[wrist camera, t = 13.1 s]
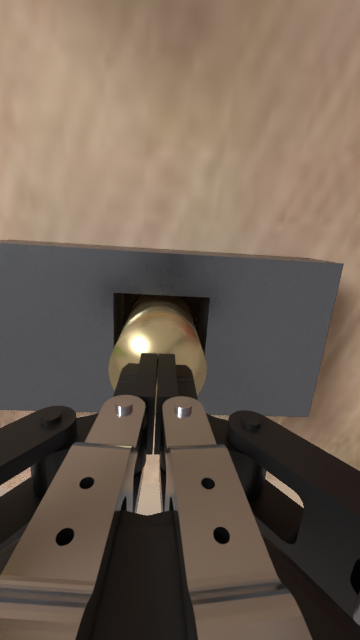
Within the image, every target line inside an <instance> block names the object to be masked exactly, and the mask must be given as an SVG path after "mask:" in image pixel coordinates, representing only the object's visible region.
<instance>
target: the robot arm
mask: <svg viewBox="0 0 360 640" xmlns="http://www.w3.org/2000/svg"><path fill="white" fill-rule="evenodd" d="M156 377H157V353H141V357H140V362H139V363H128V364H127V365H126V366H125V367H123V368H122V370H121V373H120V377H119V380H118V383H117V386H116V389H115V392H114V395H113V397H112V398H110V399H108V400H107V401H106V402H105V403H104V404H103V406H102V408H101V410H100V412H99V413H97V414H94V415H90V416H85V417H80V418H76V413H75V411H74V410H73V409H72V408H70V407H67V406H50V407H46V408H43V409H40V410H38V411H36V412H34V413H32V414H29V415H27V416H25V417H23V418H21V419H19V420H17V421H15V422H13V423H10V424H8V425H6V426H4V427H2V428H0V485H2V484H3V483H5V482H6V481H8V480H10V479H11V478H13V477H14V476H16V475H18V474H19V473H21V472H22V471H24V470H26V469H27V468H29V467H31V476H32V477H30V478H29V479H27V480H26V481H24V482H22V483H21V484H19V485H18V486H16V487H15V488H13V489H12V490H10V491H9V492H7V493H6V494H4V495H3V496H1V497H0V640H360V471H358V470H357V469H355V468H353V467H351V466H350V465H348V464H346V463H344V462H343V461H341V460H339V459H338V458H336V457H334V456H332V455H331V454H329V453H327V452H325V451H324V450H322V449H320V448H319V447H317V446H315V445H313V444H312V443H310V442H308V441H306V440H305V439H303V438H301V437H300V436H298V435H296V434H294V433H293V432H291V431H289V430H287V429H286V428H284V427H282V426H281V425H279V424H277V423H275V422H274V421H272V420H270V419H268V418H267V417H265V416H263V415H261V414H259V413H257V412H253V411H247V410H241V411H236V412H234V413H232V414H231V415H230V417H229V420H228V421H227V420H223V419H219V418H215V417H213V416H210V415H208V414H207V413H205V410H204V407H203V405H202V404H201V403H200V402H199V401H198V398H197V393H196V388H195V384H194V378H193V373H192V370H191V369H190V368H189V367H188V366H187V365H176V362H175V354H162V353H159V361H158V380H157V400H156V424H155V447H154V454H160V466H159V482H160V496H161V511H162V512H161V513H157V514H154V515H149V516H145V515H140V514H137V513H136V512H137V506H138V501H139V495H140V490H141V485H142V479H143V471H144V465H145V462H146V454H152V451H153V433H154V416H155V399H156ZM266 471H268V472H269V473H271V474H272V475H273V476H275V477H276V478H278V479H279V480H280V481H282V482H283V483H284V484H286V485H287V486H288V487H290V488H291V489H293V490H294V491H295V492H296V493H297V494H298V495H299V497H300V498H301V500H302V502H303V505H304V508H302V507H301V506H300V505H298V504H297V503H296V502H294V501H293V500H292V499H291V498H289V497H288V496H287V495H285V494H284V493H283V492H281V491H280V490H279V489H277V488H276V487H275V486H273V485H272V484H271V483H270V482H268V481H267V480H266V479H265V476H266Z"/></svg>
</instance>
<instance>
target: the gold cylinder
mask: <svg viewBox="0 0 360 640" xmlns="http://www.w3.org/2000/svg"><path fill="white" fill-rule="evenodd" d="M141 353H157V377H156V399H155V414H156V400H157V380H158V361H159V353H162V354H175V362H176V365H187V366H188V367H189V368H190V369H191V370H192V373H193V378H194V384H195V388H196V393H197V395H198V394H199V392H200V391H201V389H202V387H203V385H204V382H205V379H206V374H207V366H206V360H205V356H204V353H203V350H202V347H201V344H200V340H199V337H198V334H197V331H196V328H195V325H194V322H193V319H192V316H191V312H190V309H189V307H188V305H187V303H186V302H185V301H184V300H183V299H182V298H181V297H180V296H168V295H148V294H144V295H143V296H141V297H140V298H139V299H138V300H137V301H136V303H135V304H134V306H133V308H132V310H131V312H130V315H129V317H128V319H127V321H126V323H125V326H124V328H123V330H122V332H121V334H120V336H119V339H118V341H117V343H116V345H115V347H114V350H113V352H112V354H111V357H110V361H109V368H108V371H109V378H110V382H111V385H112V387H113V389H114V391H115V389H116V386H117V383H118V380H119V377H120V373H121V370H122V368H123V367H125V366H126V365H127V364H128V363H139V362H140V357H141Z"/></svg>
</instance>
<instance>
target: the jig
mask: <svg viewBox="0 0 360 640" xmlns="http://www.w3.org/2000/svg"><path fill="white" fill-rule="evenodd" d="M342 269H343V264H341V263H335V262H329V261H323V260H316V259H310V258H297V257H281V256H264V255H248V254H232V253H216V252H199V251H183V250H167V249H151V248H135V247H118V246H102V245H86V244H70V243H53V242H37V241H21V240H0V410H26V411H38V410H40V409H43V408H46V407H50V406H67V407H70V408H72V409H73V410H74V411H75V412H100V410H101V408H102V406H103V404H104V403H105V402H106V401H107V400H108V399H110V398H112V397H113V395H114V392H115V391H114V389H113V387H112V385H111V382H110V378H109V371H108V368H109V361H110V357H111V354H112V352H113V350H114V347H115V345H116V343H117V341H118V339H119V336H120V334H121V332H122V330H123V328H124V293H128V294H148V295H168V296H188V297H200V308H199V320H198V331H197V334H198V337H199V340H200V344H201V347H202V350H203V353H204V356H205V360H206V366H207V374H206V379H205V382H204V385H203V387H202V389H201V391H200V392H199V394H198V395H197V398H198V401H199V402H200V403H201V404H202V405H203V407H204V410H205V413H207V414H208V415H231V414H232V413H234V412H236V411H241V410H247V411H253V412H257V413H259V414H261V415H263V416H288V417H308V416H309V412H310V408H311V403H312V399H313V395H314V390H315V386H316V382H317V377H318V373H319V369H320V364H321V360H322V356H323V351H324V347H325V343H326V338H327V334H328V330H329V325H330V321H331V317H332V312H333V308H334V303H335V299H336V295H337V290H338V286H339V282H340V277H341V273H342Z"/></svg>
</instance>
